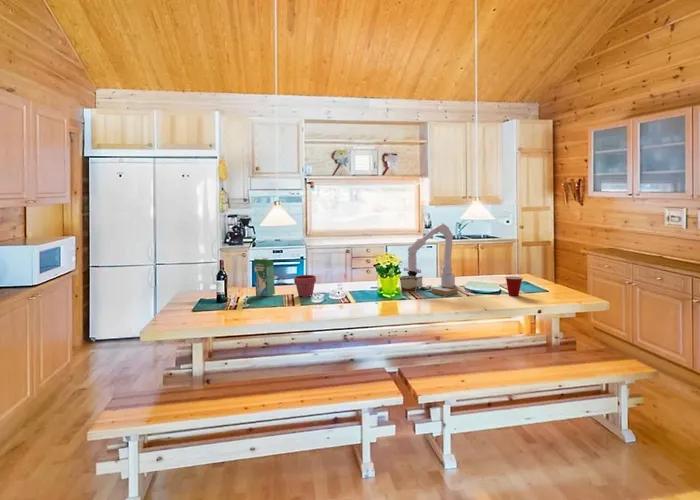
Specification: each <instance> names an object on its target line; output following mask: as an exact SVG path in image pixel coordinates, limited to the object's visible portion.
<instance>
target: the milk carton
mask: <svg viewBox="0 0 700 500" xmlns="http://www.w3.org/2000/svg"><path fill="white" fill-rule="evenodd" d="M253 264H254V279H255V284H254V285H255V297H262V296H268V297H271V296H273V295H272V294H274V295H275V294H276V291H275V289H276V288H275V269H274V266H275V265H274V260H270V259H269V258H267V257H262V258H254V261H253ZM270 295H271V296H270Z"/></svg>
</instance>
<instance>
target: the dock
mask: <svg viewBox="0 0 700 500" xmlns="http://www.w3.org/2000/svg"><path fill="white" fill-rule="evenodd" d="M458 291H459V288H458V287H455V286H453V287H449V286H442V287H441V288H438V287H437V288H435V287H431V288H430V289H429V288H427V289H425V290H423V292H431V294H433V295H434V294H435V295H440V296H444V297H448V296H451V295H455V294H458V293H459V292H458Z"/></svg>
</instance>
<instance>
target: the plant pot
mask: <svg viewBox="0 0 700 500" xmlns="http://www.w3.org/2000/svg"><path fill="white" fill-rule="evenodd" d="M293 281H294V284H295V287H296V291H297V295H298V297H300V296H302V297H301V298H307V297H306V296H310V295H312V294H314V289H315V283H316V282H317V277H316V275H314V274H313V275H312V274H301V275H296V276H294V277H293ZM312 296H313V295H312ZM310 297H311V296H310Z"/></svg>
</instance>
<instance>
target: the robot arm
mask: <svg viewBox="0 0 700 500" xmlns="http://www.w3.org/2000/svg"><path fill="white" fill-rule="evenodd" d="M439 233H440V234H441V235H443V236H444V238H445V241H444V249H443V250H444V253H443V261H442V265H441V267H440V268H441V269H440V270H441V273H440V275H441V277H440V281H441V284H439V285H438V287H441V288H442V286H449V287H456V277H455V274H454V273H452V271H453V267H452V252H453V251H452V249H453V248H452V247H453V237H454V235H453V232H452V231H451V230H450V228H449V226H448V225H446V224H445V223H443V222H440V223H438V224H437V225H435V226H433V227H432V229H430V231H428V232H427V233H426V234H425V235H424V236H422V237H419V238H416V240H415V241H414V242H412V243H411V245H408V247H407V252H408V254H407V255H408V256H407V265H408V266H407V267H404V268H403V271H404V272H406V273H407V276H416V277H417V275H418V274H421V273H422V270H421V269H419V268H417V252H418V251H420V249H421V248H423V247H424V246H425V245H426V241H429V239H430V238H432V237H433V236H434V235H439Z"/></svg>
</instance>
